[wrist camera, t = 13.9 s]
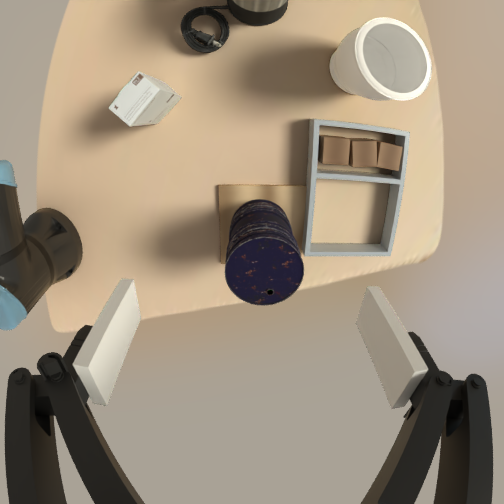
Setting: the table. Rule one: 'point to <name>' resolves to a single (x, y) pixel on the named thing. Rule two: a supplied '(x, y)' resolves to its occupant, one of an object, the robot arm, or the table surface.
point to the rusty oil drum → (262, 254)
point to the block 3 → (388, 155)
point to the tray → (394, 180)
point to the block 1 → (333, 150)
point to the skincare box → (144, 101)
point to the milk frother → (241, 7)
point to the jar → (382, 61)
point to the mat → (282, 195)
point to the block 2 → (362, 152)
